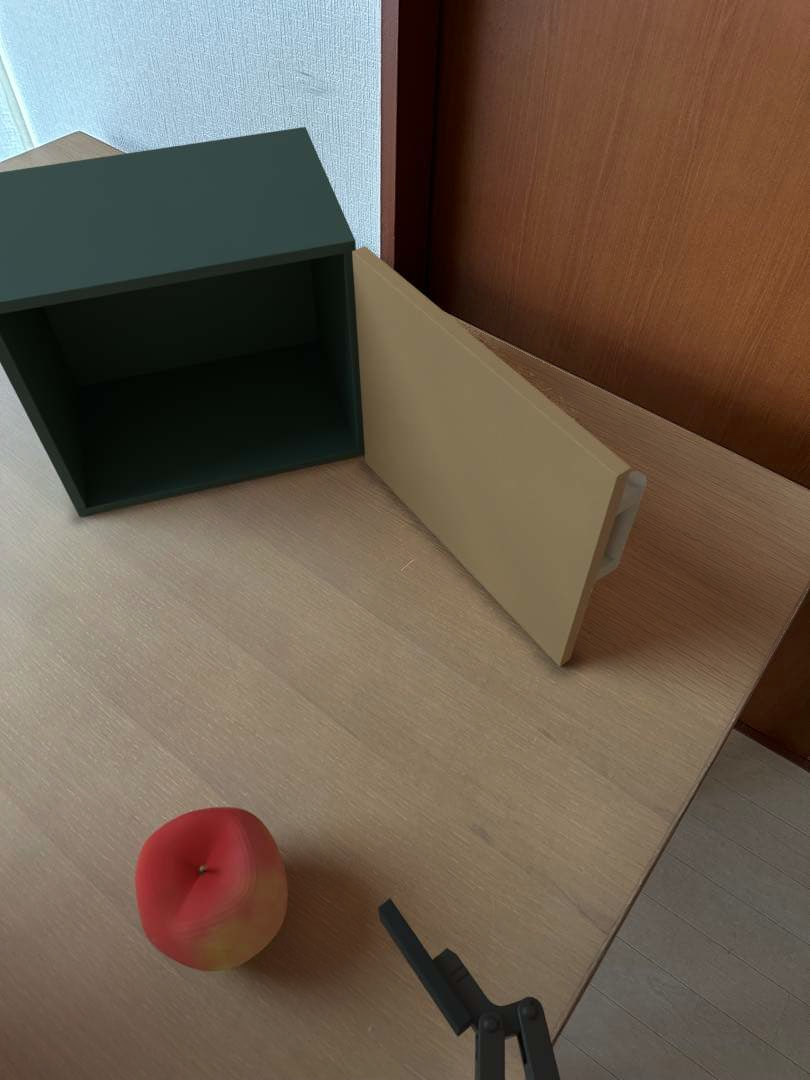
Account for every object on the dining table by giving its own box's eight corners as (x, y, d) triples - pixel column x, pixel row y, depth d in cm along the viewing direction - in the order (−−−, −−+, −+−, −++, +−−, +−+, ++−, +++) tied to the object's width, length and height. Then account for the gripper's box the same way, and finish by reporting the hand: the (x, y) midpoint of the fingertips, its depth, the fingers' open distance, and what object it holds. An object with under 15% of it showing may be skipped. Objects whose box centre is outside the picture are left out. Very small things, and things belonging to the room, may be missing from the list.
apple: (138, 971, 55) (92, 939, 47) (181, 827, 61) (146, 777, 52) (280, 994, 54) (258, 965, 46) (311, 846, 60) (295, 797, 52)
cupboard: (368, 454, 82) (355, 240, 63) (79, 517, 78) (-29, 306, 59) (327, 340, 93) (305, 126, 74) (70, 390, 88) (-25, 175, 69)
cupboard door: (422, 431, 84) (425, 219, 65) (620, 623, 71) (698, 425, 52) (365, 462, 82) (351, 251, 63) (559, 667, 68) (617, 476, 49)
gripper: (287, 1838, 28) (47, 1193, 38) (770, 1260, 37) (468, 862, 47) (252, 2022, 22) (-21, 1198, 32) (839, 1280, 31) (475, 818, 41)
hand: (268, 998), depth 40 cm, fingers open, 13 cm apart
